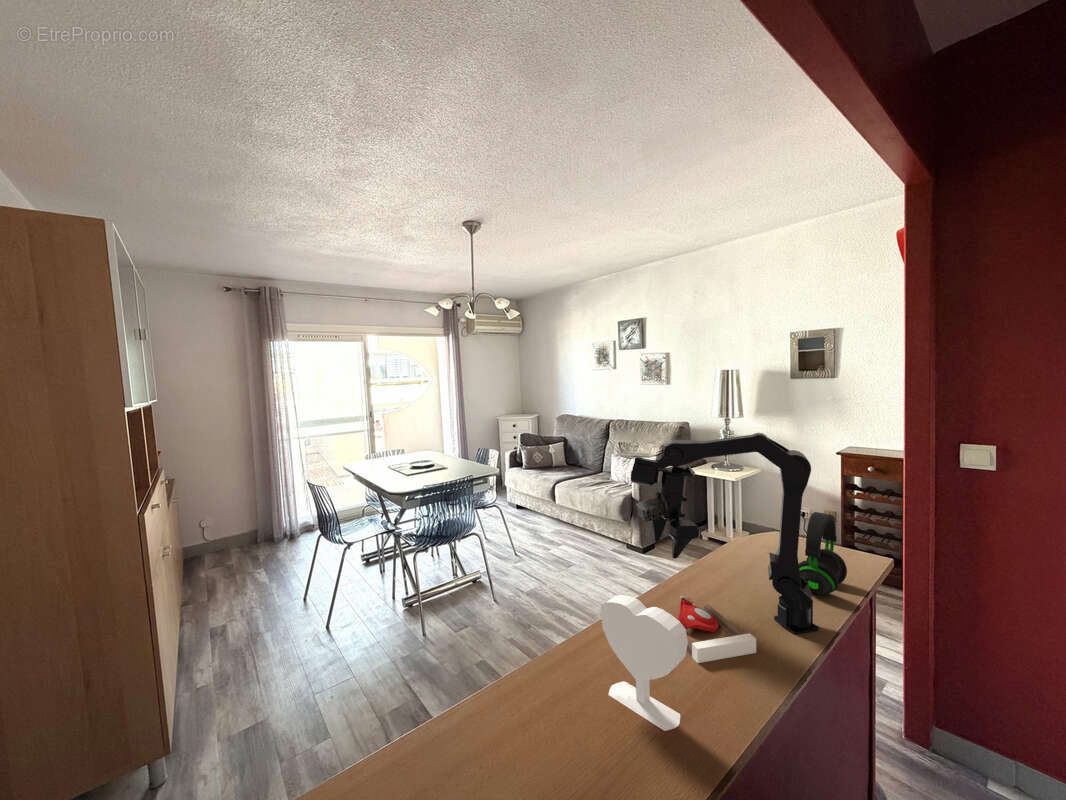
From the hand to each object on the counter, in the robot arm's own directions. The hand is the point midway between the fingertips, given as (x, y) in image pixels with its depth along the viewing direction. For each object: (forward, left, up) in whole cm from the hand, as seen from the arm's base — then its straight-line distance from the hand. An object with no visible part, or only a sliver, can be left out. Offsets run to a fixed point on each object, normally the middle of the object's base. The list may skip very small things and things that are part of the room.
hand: (665, 549), depth 113 cm
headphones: (-42, +5, -14) cm, 44 cm away
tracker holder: (-2, +10, -14) cm, 17 cm away
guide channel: (-1, +14, -13) cm, 20 cm away
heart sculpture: (+21, +31, -14) cm, 40 cm away
